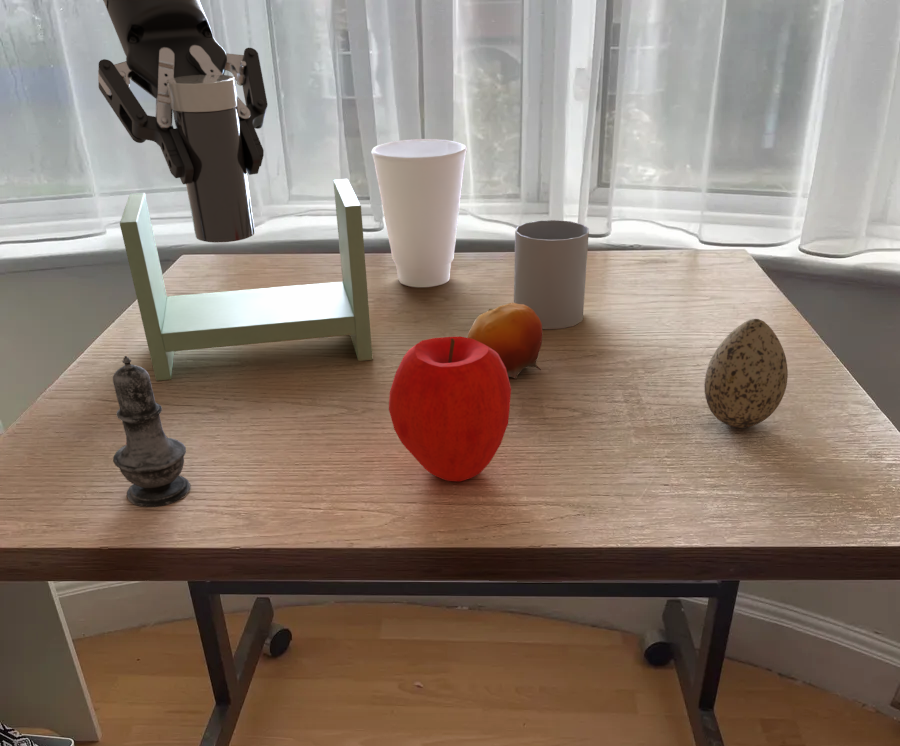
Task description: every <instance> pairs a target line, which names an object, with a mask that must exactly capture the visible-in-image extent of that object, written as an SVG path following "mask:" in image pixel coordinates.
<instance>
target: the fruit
mask: <svg viewBox="0 0 900 746" xmlns="http://www.w3.org/2000/svg"><path fill="white" fill-rule="evenodd" d="M466 338H471V339H474V340H476V341H478V342H480V343H482V344H484V345H486V346H488V347H489V348H491V349H493V350H494V351H495V352H497V353H498V355H499V356H500V358H501V360H502V362H503V364H504V365H505V367H506V370H507V374H508V378H513V379H515V380H517V378H518V375H519V374H520V373H521V372H522V371H523V370H524V369H527V368H536V369H538V370H539V371H542V368H540V367H539V366H538V365H537V361H538V358H539V355H540V351H541V348H542V344H543V329H542V324H541V321H540V319H539V317H538V316H537V315H536V313H535V312H534V311H533V310H532V309H531V308H530V307H528V306H526V305H524V304H516V303H514V302H510V303H506V304H502V305H499V306H498V307H495V308H489V309H488V310H487V311H486V312H482V313H481V314H479V315H478V316H477V317H476V318H475V320H474V322H473V323H472V325H471V327H470V330H469V331H468V333H467V337H466Z"/></svg>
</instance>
